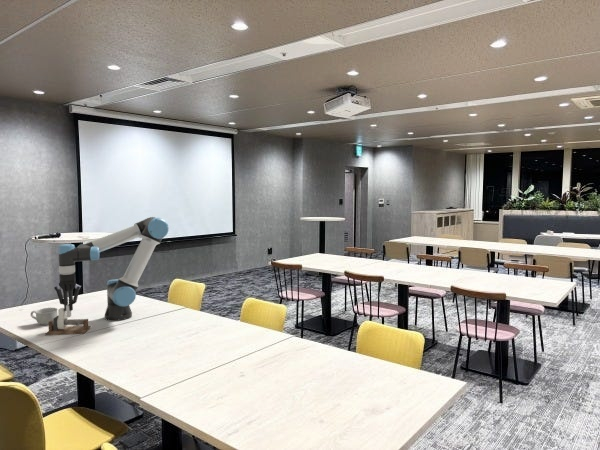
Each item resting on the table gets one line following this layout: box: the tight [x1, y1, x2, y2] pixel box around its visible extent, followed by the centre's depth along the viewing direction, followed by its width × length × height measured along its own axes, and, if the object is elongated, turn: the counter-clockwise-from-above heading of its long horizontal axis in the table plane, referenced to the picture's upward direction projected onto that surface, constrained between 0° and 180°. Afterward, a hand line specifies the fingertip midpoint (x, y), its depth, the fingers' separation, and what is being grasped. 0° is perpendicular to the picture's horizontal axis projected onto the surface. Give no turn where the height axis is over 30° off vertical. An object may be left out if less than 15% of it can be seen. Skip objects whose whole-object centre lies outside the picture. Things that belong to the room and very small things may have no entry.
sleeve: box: [57, 307, 69, 329], centre depth 229 cm, size 3×6×10 cm, turn 8°
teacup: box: [30, 307, 59, 326], centre depth 243 cm, size 14×11×8 cm
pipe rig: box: [44, 318, 92, 336], centre depth 230 cm, size 19×11×6 cm, turn 98°
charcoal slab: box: [54, 316, 58, 330], centre depth 229 cm, size 2×6×6 cm, turn 8°
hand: (68, 316), depth 230 cm, fingers closed
